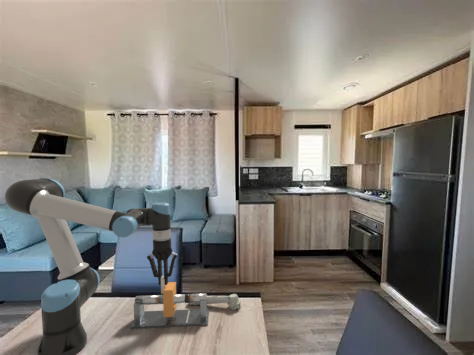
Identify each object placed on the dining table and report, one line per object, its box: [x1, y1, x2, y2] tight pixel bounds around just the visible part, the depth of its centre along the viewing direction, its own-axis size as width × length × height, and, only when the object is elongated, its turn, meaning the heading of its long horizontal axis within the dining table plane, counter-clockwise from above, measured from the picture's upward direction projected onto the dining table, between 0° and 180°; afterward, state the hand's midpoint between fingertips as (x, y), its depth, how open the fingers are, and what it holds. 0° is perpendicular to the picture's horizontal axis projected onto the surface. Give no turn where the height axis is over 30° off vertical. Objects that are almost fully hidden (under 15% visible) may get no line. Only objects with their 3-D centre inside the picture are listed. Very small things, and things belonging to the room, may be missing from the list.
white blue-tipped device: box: [188, 293, 242, 311], centre depth 122 cm, size 5×7×25 cm
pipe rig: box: [129, 292, 210, 330], centre depth 111 cm, size 32×11×11 cm, turn 93°
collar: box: [162, 281, 177, 317], centre depth 111 cm, size 4×8×11 cm, turn 3°
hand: (163, 291), depth 111 cm, fingers closed
